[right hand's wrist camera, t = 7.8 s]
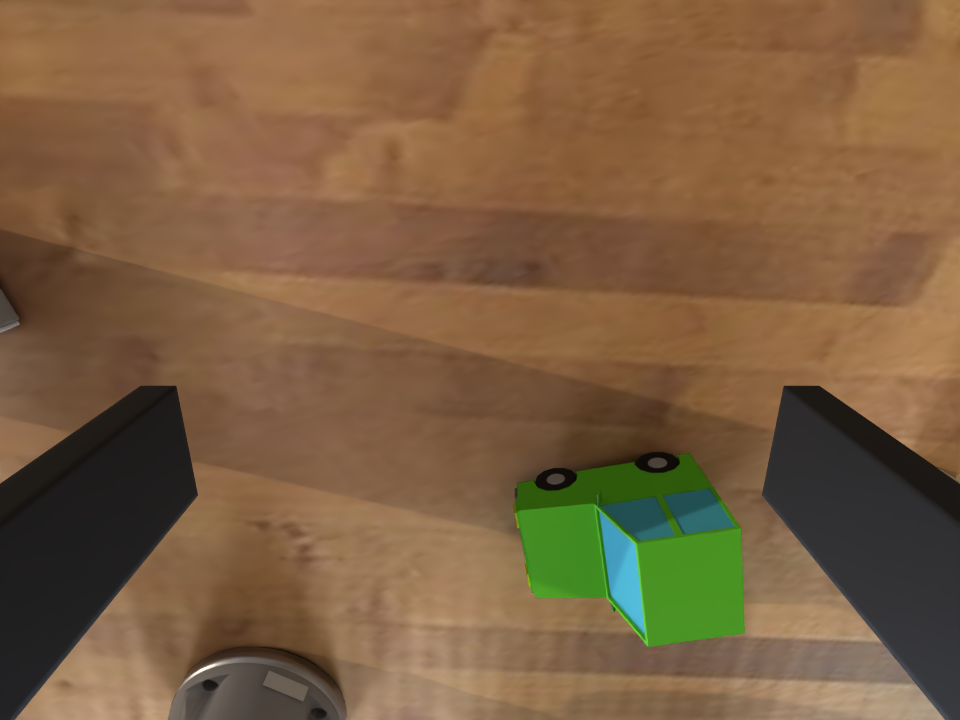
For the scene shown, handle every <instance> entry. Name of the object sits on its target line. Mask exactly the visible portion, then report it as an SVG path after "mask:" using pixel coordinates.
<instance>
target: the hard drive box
mask: <svg viewBox="0 0 960 720" xmlns="http://www.w3.org/2000/svg"><path fill="white" fill-rule="evenodd" d="M18 320H19V317H18V315H17V314H16V313H15V311H14V309H13V308H12V306H11V304H10V303H9V301H8V300H7V298H6V297H5V295H4V293H3V292H2V290H1V289H0V333H1V332H3V331H6V330H8V329H11V328H13V327H15V326H18V325H19V322H18Z"/></svg>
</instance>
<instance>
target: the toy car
mask: <svg viewBox="0 0 960 720" xmlns="http://www.w3.org/2000/svg"><path fill="white" fill-rule="evenodd" d="M515 503H516V504H514V514H515V519H516V524H517V528H520V533H521V538H522V543H523V549H524V554H525V559H526V564H525V566H526V575H527V580H528V585H529V588H531V590H532V593H535V597H536V598H607V599H608V600H609V601H610V602H611V607H612V612H613V613H614V611H615V609H617V611H618V612H619V613H620V614H621V615H622V616H623V618H624V619H625V620H626V621H627V622H628V624H629V625H630V626H631V627H632V628H633V629H634V631H635V632H636V633H637V634H638V635H639V636H640V638H641V639H642V640H643V641H644V642H645V644H646V645H647V646H648V647H650V646H658V645H665V644H672V643H679V642H687V641H694V640H701V639H708V638H715V637H723V636H730V635H737V634H744V633H745V628H744V598H743V568H742V538H741V527H740V526H739V524H738V523H737V521H736V520H735V519H734V517H733V516H732V514H731V513H730V511H729V510H728V508H727V507H726V505H725V504H724V503H723V501H722V500H721V498H720V497H719V495H718V494H717V492H716V491H715V489H714V488H713V486H712V485H711V484H710V482H709V481H708V479H707V478H706V476H705V475H704V473H703V472H702V470H701V469H700V468H699V466H698V465H697V463H696V462H695V460H694V459H693V457H692V456H691V454H690V453H688V454H682V455H677V458H676V457H674V456H673V455H671V454H667V453H663V452H656V453H649V454H646V455H642V456H641V457H640V458H639V459H638V460H637V466H635V462H631V463H625V464H619V465H613V466H606V467H600V468H594V469H588V470H582V471H577V472H576V475H575V474H574V473H573V471H571V470H568V469H565V468H553V469H550V470H547V471H544V472H542V473H541V474H540V475H538V476H537V479H536V485H535V480H531V481H526V482H521V483H517V488H515Z"/></svg>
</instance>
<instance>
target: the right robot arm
mask: <svg viewBox="0 0 960 720" xmlns="http://www.w3.org/2000/svg"><path fill="white" fill-rule="evenodd" d="M197 496H198V493H197V488H196V483H195V478H194V473H193V468H192V463H191V458H190V453H189V448H188V443H187V438H186V433H185V428H184V423H183V418H182V413H181V408H180V403H179V398H178V393H177V388H176V386H140V387H138V388H137V389H136V390H134V391H133V392H131V393H130V394H128V395H127V396H125V397H124V398H123V399H121V400H120V401H118V402H117V403H115V404H114V405H113V406H111V407H110V408H108V409H107V410H105V411H104V412H103V413H101V414H100V415H98V416H97V417H95V418H94V419H92V420H91V421H90V422H88V423H87V424H85V425H84V426H82V427H81V428H80V429H78V430H77V431H75V432H74V433H72V434H71V435H69V436H68V437H67V438H65V439H64V440H62V441H61V442H59V443H58V444H57V445H55V446H54V447H52V448H51V449H49V450H48V451H47V452H45V453H44V454H42V455H41V456H39V457H38V458H36V459H35V460H34V461H32V462H31V463H29V464H28V465H26V466H25V467H24V468H22V469H21V470H19V471H18V472H16V473H15V474H13V475H12V476H11V477H9V478H8V479H6V480H5V481H3V482H2V483H1V484H0V720H15V719H16V718H17V716H18V715H19V714H20V713H21V711H22V710H23V709H24V708H25V707H26V705H27V704H28V703H29V702H30V700H31V699H32V698H33V697H34V696H35V694H36V693H37V692H38V691H39V689H40V688H41V687H42V686H43V684H44V683H45V682H46V681H47V680H48V678H49V677H50V676H51V675H52V673H53V672H54V671H55V670H56V669H57V667H58V666H59V665H60V664H61V662H62V661H63V660H64V659H65V658H66V656H67V655H68V654H69V653H70V651H71V650H72V649H73V648H74V646H75V645H76V644H77V643H78V642H79V640H80V639H81V638H82V637H83V635H84V634H85V633H86V632H87V631H88V629H89V628H90V627H91V626H92V624H93V623H94V622H95V621H96V620H97V618H98V617H99V616H100V615H101V613H102V612H103V611H104V610H105V609H106V607H107V606H108V605H109V604H110V602H111V601H112V600H113V599H114V597H115V596H116V595H117V594H118V593H119V591H120V590H121V589H122V588H123V586H124V585H125V584H126V583H127V582H128V580H129V579H130V578H131V577H132V575H133V574H134V573H135V572H136V571H137V569H138V568H139V567H140V566H141V564H142V563H143V562H144V561H145V560H146V558H147V557H148V556H149V555H150V553H151V552H152V551H153V550H154V548H155V547H156V546H157V545H158V544H159V542H160V541H161V540H162V539H163V537H164V536H165V535H166V534H167V533H168V531H169V530H170V529H171V528H172V526H173V525H174V524H175V523H176V522H177V520H178V519H179V518H180V517H181V515H182V514H183V513H184V512H185V510H186V509H187V508H188V507H189V506H190V504H191V503H192V502H193V501H194V499H195V498H196V497H197ZM762 496H763V497H764V498H765V499H766V501H767V502H768V503H769V504H770V506H771V507H772V508H773V509H774V510H775V512H776V513H777V514H778V515H779V517H780V518H781V519H782V520H783V522H784V523H785V524H786V525H787V526H788V528H789V529H790V530H791V531H792V533H793V534H794V535H795V536H796V537H797V539H798V540H799V541H800V542H801V544H802V545H803V546H804V547H805V548H806V550H807V551H808V552H809V553H810V555H811V556H812V557H813V558H814V560H815V561H816V562H817V563H818V564H819V566H820V567H821V568H822V569H823V571H824V572H825V573H826V574H827V575H828V577H829V578H830V579H831V580H832V582H833V583H834V584H835V585H836V586H837V588H838V589H839V590H840V591H841V593H842V594H843V595H844V596H845V597H846V599H847V600H848V601H849V602H850V604H851V605H852V606H853V607H854V609H855V610H856V611H857V612H858V613H859V615H860V616H861V617H862V618H863V620H864V621H865V622H866V623H867V624H868V626H869V627H870V628H871V629H872V631H873V632H874V633H875V634H876V635H877V637H878V638H879V639H880V640H881V642H882V643H883V644H884V645H885V646H886V648H887V649H888V650H889V651H890V653H891V654H892V655H893V656H894V658H895V659H896V660H897V661H898V662H899V664H900V665H901V666H902V667H903V669H904V670H905V671H906V672H907V673H908V675H909V676H910V677H911V678H912V680H913V681H914V682H915V683H916V684H917V686H918V687H919V688H920V689H921V691H922V692H923V693H924V694H925V696H926V697H927V698H928V699H929V700H930V702H931V703H932V704H933V705H934V707H935V708H936V709H937V710H938V711H939V713H940V714H941V715H942V716H943V718H944V719H945V720H960V484H959V483H958V482H957V481H955V480H954V479H952V478H951V477H949V476H948V475H947V474H945V473H944V472H942V471H941V470H939V469H938V468H936V467H935V466H934V465H932V464H931V463H929V462H928V461H926V460H925V459H924V458H922V457H921V456H919V455H918V454H916V453H915V452H913V451H912V450H911V449H909V448H908V447H906V446H905V445H903V444H902V443H901V442H899V441H898V440H896V439H895V438H893V437H892V436H891V435H889V434H888V433H886V432H885V431H883V430H882V429H880V428H879V427H878V426H876V425H875V424H873V423H872V422H870V421H869V420H868V419H866V418H865V417H863V416H862V415H860V414H859V413H857V412H856V411H855V410H853V409H852V408H850V407H849V406H847V405H846V404H845V403H843V402H842V401H840V400H839V399H837V398H836V397H835V396H833V395H832V394H830V393H829V392H827V391H826V390H824V389H823V388H822V387H820V386H784V388H783V393H782V398H781V403H780V408H779V413H778V418H777V423H776V428H775V433H774V438H773V443H772V448H771V453H770V458H769V463H768V468H767V473H766V478H765V483H764V488H763V493H762ZM346 716H347V713H346V706H345V702H344V699H343V697H342V695H341V693H340V691H339V689H338V688H337V686H336V685H335V683H334V682H333V681H332V680H331V679H330V678H329V677H328V676H327V675H326V674H325V673H324V672H323V671H322V670H320V669H319V668H318V667H316V666H315V665H313V664H312V663H310V662H308V661H307V660H304V659H302V658H300V657H298V656H296V655H293V654H290V653H287V652H284V651H280V650H276V649H270V648H262V647H241V648H234V649H229V650H224V651H221V652H218V653H215V654H213V655H211V656H209V657H207V658H205V659H203V660H202V661H200V662H199V663H198V664H196V665H195V666H194V667H193V668H192V669H191V670H190V671H189V673H188V674H187V675H186V677H185V678H184V680H183V682H182V684H181V686H180V687H179V689H178V691H177V693H176V695H175V697H174V699H173V701H172V705H171V708H170V712H169V717H168V720H346Z"/></svg>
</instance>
